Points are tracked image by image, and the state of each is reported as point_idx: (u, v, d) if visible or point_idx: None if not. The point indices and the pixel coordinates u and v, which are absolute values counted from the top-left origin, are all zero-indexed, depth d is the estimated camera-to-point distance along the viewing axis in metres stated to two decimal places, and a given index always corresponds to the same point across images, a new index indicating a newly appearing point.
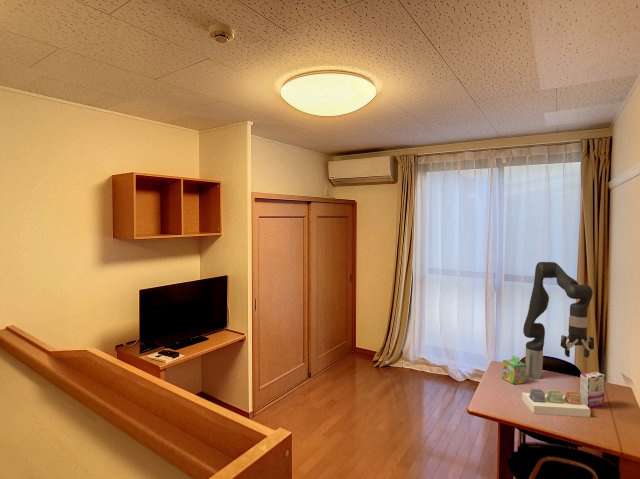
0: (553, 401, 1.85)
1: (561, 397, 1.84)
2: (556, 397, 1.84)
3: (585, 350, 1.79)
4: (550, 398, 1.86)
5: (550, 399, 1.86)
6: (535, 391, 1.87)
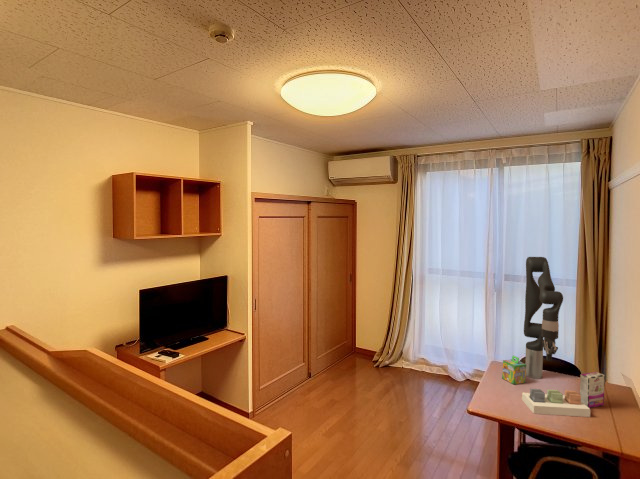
0: (553, 401, 1.85)
1: (561, 397, 1.84)
2: (556, 397, 1.84)
3: None
4: (550, 398, 1.86)
5: (550, 399, 1.86)
6: (535, 391, 1.87)
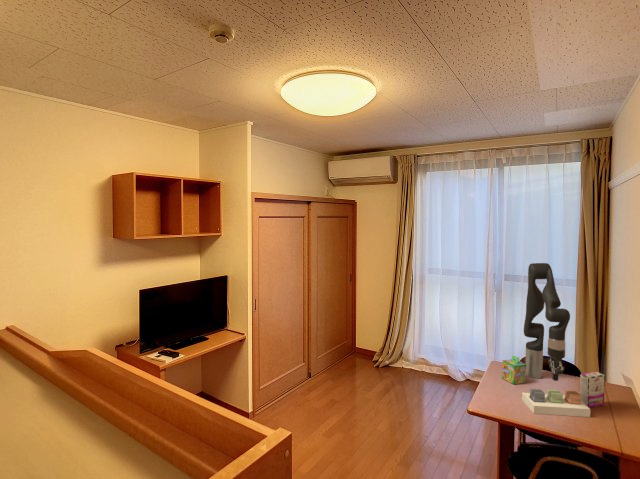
0: (553, 401, 1.85)
1: (561, 397, 1.84)
2: (556, 397, 1.84)
3: None
4: (550, 398, 1.86)
5: (550, 399, 1.86)
6: (535, 391, 1.87)
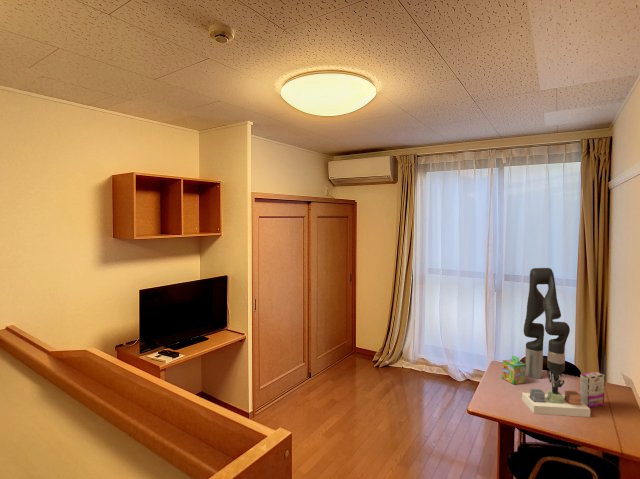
0: (553, 402, 1.85)
1: (561, 398, 1.84)
2: (556, 399, 1.84)
3: None
4: (550, 399, 1.86)
5: (550, 400, 1.86)
6: (535, 391, 1.87)
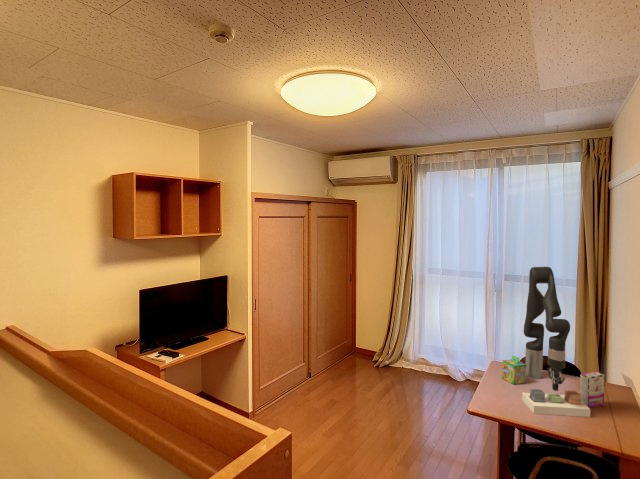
0: None
1: (561, 401, 1.84)
2: (556, 401, 1.84)
3: None
4: None
5: None
6: (535, 391, 1.87)
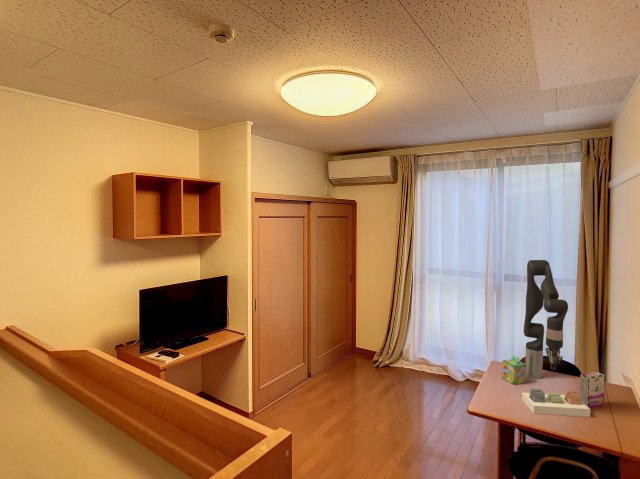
0: None
1: (561, 401, 1.84)
2: (556, 401, 1.84)
3: None
4: None
5: None
6: (535, 391, 1.87)
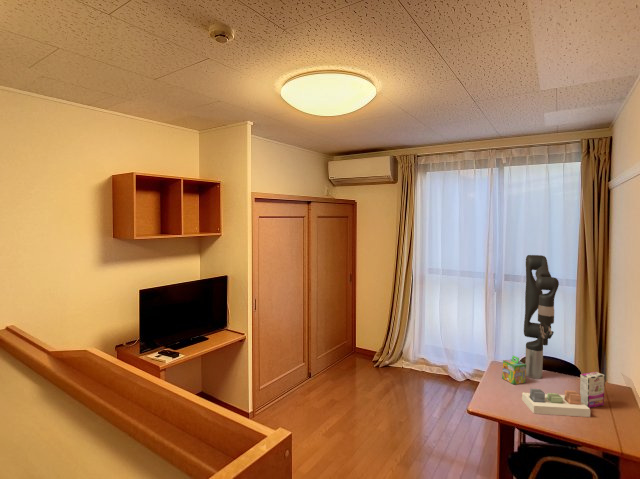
0: None
1: (561, 401, 1.84)
2: (556, 401, 1.84)
3: None
4: None
5: None
6: (535, 391, 1.87)
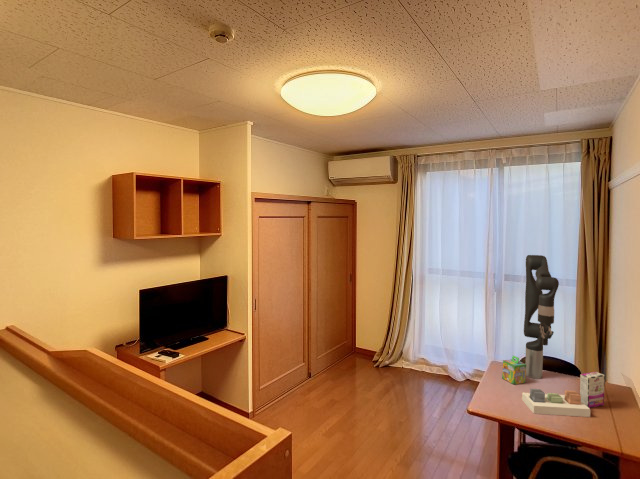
0: None
1: (561, 401, 1.84)
2: (556, 401, 1.84)
3: None
4: None
5: None
6: (535, 391, 1.87)
